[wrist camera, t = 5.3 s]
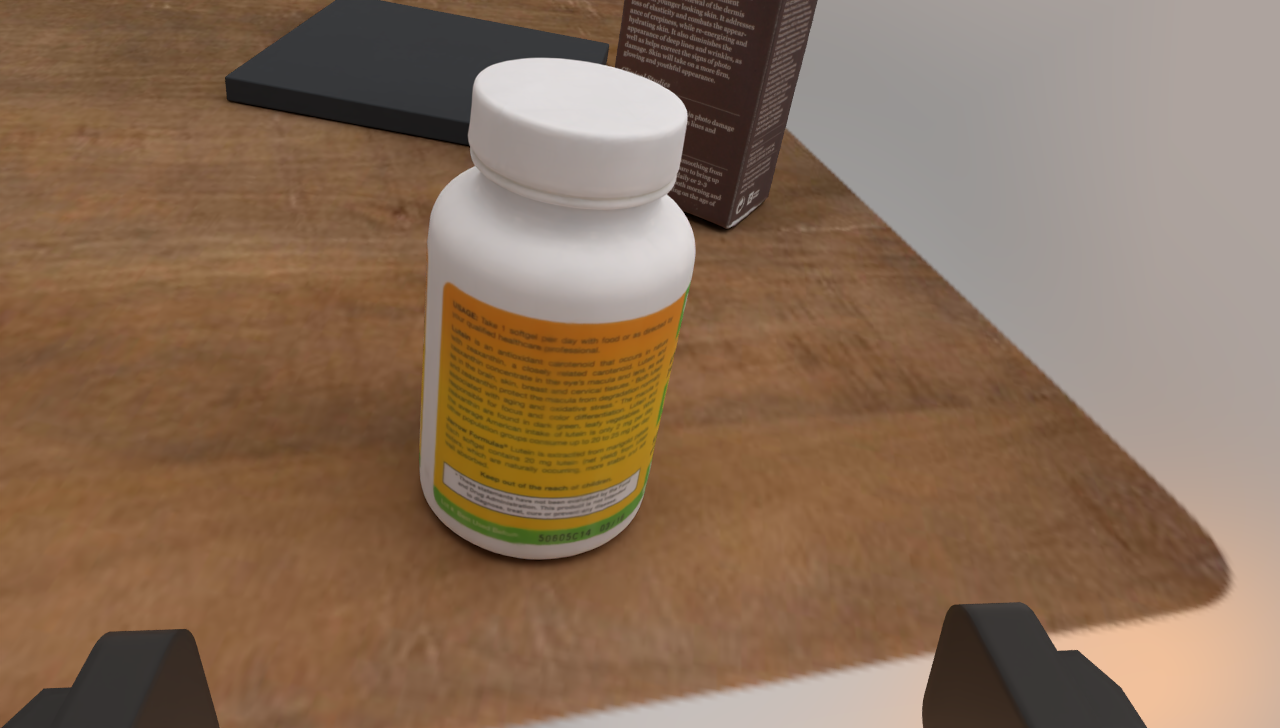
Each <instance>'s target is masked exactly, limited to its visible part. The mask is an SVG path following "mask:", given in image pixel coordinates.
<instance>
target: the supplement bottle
mask: <svg viewBox="0 0 1280 728" xmlns="http://www.w3.org/2000/svg"><path fill="white" fill-rule="evenodd" d="M687 117H688V116H687V110H686V108H685V105H684V104H683V102H682V101H681V100H680V99H679V98H678V97H677V96H676V95H675V94H674V93H672V92H671V91H670V90H668V89H666V88H664V87H663V86H661V85H659V84H658V83H655V82H653V81H651V80H649V79H647V78H644V77H641V76H639V75H636V74H633V73H630V72H627V71H624V70H621V69H618V68H614V67H610V66H605V65H601V64H596V63H590V62H585V61H577V60H569V59H559V58H526V59H517V60H510V61H505V62H501V63H497V64H494V65H491V66H489V67H487V68H486V69H484V70H483V71H481V72H480V73H479V74H478V76H477V77H476V79H475V81H474V85H473V93H472V107H471V117H470V125H469V131H468V141H469V144H470V154H471V158H472V161H473V163H474V165H475V166H474V167H472V168H470V169H468V170H467V171H465V172H463V173H461V174H460V175H458V176H457V177H456V178H454V179H453V180H452V181H451V182H450V183H449V184H448V185H447V186H446V187H445V188H444V189H443V190H442V192H441V193H440V195H439V197H438V198H437V200H436V202H435V204H434V207H433V210H432V212H431V217H430V224H429V233H428V239H427V265H426V296H425V320H424V345H423V372H422V391H421V418H420V446H419V463H420V481H421V486H422V490H423V493H424V496H425V498H426V500H427V502H428V504H429V506H430V507H431V509H432V510H433V512H434V513H435V514H436V515H437V517H438V518H439V519H440V520H441V521H442V522H443V523H444V524H445V525H446V526H447V527H448V528H450V529H451V530H452V531H453V532H455V533H456V534H457V535H459V536H461V537H462V538H464V539H465V540H467V541H469V542H471V543H473V544H475V545H477V546H479V547H481V548H484V549H486V550H489V551H492V552H494V553H498V554H502V555H505V556H511V557H516V558H522V559H555V558H562V557H568V556H573V555H577V554H580V553H583V552H586V551H589V550H592V549H594V548H597V547H599V546H601V545H603V544H605V543H606V542H608V541H610V540H611V539H612V538H614V537H615V536H616V535H618V534H619V533H620V532H621V531H623V530H624V529H625V528H626V527H627V526H628V525H629V523H630V522H631V521H632V519H633V518H634V517H635V515H636V513H637V511H638V509H639V508H640V505H641V502H642V499H643V496H644V492H645V488H646V484H647V480H648V476H649V472H650V468H651V462H652V457H653V452H654V447H655V442H656V438H657V433H658V428H659V424H660V419H661V414H662V410H663V405H664V400H665V395H666V391H667V386H668V382H669V377H670V372H671V368H672V363H673V358H674V354H675V350H676V345H677V341H678V336H679V331H680V327H681V322H682V318H683V313H684V309H685V305H686V301H687V296H688V292H689V287H690V283H691V278H692V273H693V267H694V261H695V239H694V235H693V231H692V228H691V226H690V224H689V222H688V219H687V217H686V216H685V214H684V213H683V211H682V210H681V209H680V207H679V206H678V205H677V204H676V203H675V201H674V200H673V199H671V198H670V197H669V196H668V195H667V193H669V191H670V190H671V189H672V188H673V187H674V184H675V182H676V178H677V173H678V170H679V168H680V162H681V156H682V150H683V144H684V138H685V132H686V126H687Z"/></svg>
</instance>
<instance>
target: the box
mask: <svg viewBox="0 0 1280 728" xmlns="http://www.w3.org/2000/svg"><path fill="white" fill-rule="evenodd" d="M816 4H817V0H624V8H623V16H622V23H621V30H620V35H619V43H618V49H617V56H616V63H615V68H618V69H621V70H624V71H627V72H630V73H633V74H636V75H639V76H641V77H644V78H647V79H649V80H651V81H653V82H655V83H658V84H659V85H661V86H663V87H664V88H666V89H668V90H670V91H671V92H672V93H674V94H675V95H676V96H677V97H678V98H679V99H680V100H681V101H682V102H683V104H684V105H685V108H686V110H687V116H688V117H687V126H686V132H685V138H684V144H683V150H682V156H681V162H680V168H679V170H678V173H677V178H676V182H675V184H674V187H673V188H672V189H671V190H670V191H669V193H667V195H668V196H669V197H670V198H671V199H673V200H674V201H675V203H676V204H677V205H678V206H679V207H680V209H681V210H682V211H685V212H687V213H690V214H692V215H695V216H698V217H700V218H703V219H705V220H708V221H710V222H713V223H715V224H717V225H720V226H722V227H724V228H726V229H728V228H730V227H734V226H736V225H737V224H738V222H740V221H741V220H742V219H744V218H746V217H747V216H748V215H749V213H750V212H752V211H753V210H754V209H755V208H756V207H757V206H759V205H760V204H761V203H762V202H764V200H765V199H766V198H767V197H768V195H769V190H770V187H771V183H772V179H773V175H774V171H775V166H776V162H777V158H778V155H779V151H780V147H781V143H782V139H783V135H784V130H785V128H786V124H787V120H788V115H789V111H790V107H791V103H792V99H793V95H794V91H795V87H796V83H797V80H798V76H799V72H800V69H801V65H802V60H803V56H804V53H805V49H806V45H807V41H808V36H809V32H810V28H811V25H812V21H813V16H814V12H815V8H816Z"/></svg>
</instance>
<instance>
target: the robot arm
mask: <svg viewBox="0 0 1280 728" xmlns="http://www.w3.org/2000/svg"><path fill="white" fill-rule="evenodd" d="M922 718H923V728H1147V727H1146V725H1145V724H1144V722H1143V721H1142V719H1141V718H1140V716H1139V715H1138V713H1137V712H1136V710H1135V708H1134V707H1133V705H1132V704H1131V702H1130V701H1129V699H1128V698H1127V696H1126V695H1125V693H1124V692H1123V690H1122V688H1121V687H1120V686H1118V685H1117V684H1116V683H1115V682H1114V681H1113V680H1112V679H1110V678H1109V677H1108V676H1107V675H1106V674H1105V673H1103V672H1102V671H1101V670H1100V669H1099V668H1098V667H1096V666H1095V665H1094V664H1093V663H1092V662H1091V661H1090V660H1088V659H1087V658H1086V657H1085V656H1084V655H1082V654H1081V653H1080V652H1079V651H1078V650H1068V651H1057V650H1056V648H1055V646H1054V645H1053V643H1052V641H1051V640H1050V638H1049V636H1048V635H1047V633H1046V631H1045V630H1044V628H1043V626H1042V625H1041V623H1040V621H1039V620H1038V618H1037V617H1036V615H1035V614H1034V612H1033V611H1032V610H1031V609H1030V608H1029V607H1028V606H1027V605H1025V604H1024V603H1021V602H1016V603H988V604H959V605H953V606H951V607H950V609H949V610H948V612H947V614H946V617H945V620H944V623H943V627H942V631H941V635H940V638H939V642H938V646H937V649H936V653H935V657H934V661H933V664H932V668H931V672H930V675H929V679H928V683H927V687H926V691H925V694H924V699H923V707H922ZM2 728H219V723H218V720H217V716H216V712H215V709H214V705H213V702H212V698H211V695H210V691H209V688H208V684H207V680H206V677H205V673H204V670H203V666H202V663H201V659H200V655H199V652H198V648H197V645H196V642H195V639H194V637H193V635H192V633H191V632H190V631H189V630H187V629H174V630H146V631H117V632H108V633H106V634H104V635H103V636H102V637H101V638H100V639H99V640H98V641H97V643H96V644H95V646H94V647H93V649H92V651H91V653H90V654H89V656H88V658H87V660H86V662H85V664H84V665H83V667H82V669H81V671H80V673H79V675H78V676H77V678H76V680H75V682H74V684H73V685H72V687H71V688H47V689H43V690H42V691H41V692H40V693H39V694H38V695H36V696H35V697H34V698H33V699H32V700H31V701H30V702H29V703H28V704H27V705H26V706H25V707H23V708H22V709H21V710H20V711H19V712H18V713H17V714H16V715H15V716H14V717H13V718H12V719H10V720H9V721H8V722H7V723H6V724H5V725H4V726H3V727H2Z"/></svg>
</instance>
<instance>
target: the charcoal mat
mask: <svg viewBox="0 0 1280 728" xmlns="http://www.w3.org/2000/svg"><path fill="white" fill-rule="evenodd" d="M608 50H609V44H607V43H602V42H597V41H591V40H586V39H581V38H576V37H570V36H565V35H560V34H554V33H549V32H544V31H539V30H533V29H528V28H523V27H518V26H512V25H507V24H502V23H496V22H491V21H486V20H481V19H475V18H470V17H465V16H460V15H454V14H449V13H444V12H438V11H433V10H428V9H423V8H417V7H412V6H407V5H402V4H396V3H391V2H386V1H380V0H335V1H334V2H333V3H331V4H330V5H328V6H327V7H325V8H324V9H322V10H321V11H320V12H318V13H317V14H315V15H314V16H312V17H311V18H309V19H308V20H307V21H305V22H304V23H302V24H301V25H299V26H298V27H296V28H295V29H294V30H292V31H291V32H289V33H288V34H286V35H285V36H283V37H282V38H281V39H279V40H278V41H276V42H275V43H273V44H272V45H270V46H269V47H268V48H266V49H265V50H263V51H262V52H260V53H259V54H257V55H256V56H255V57H253V58H252V59H250V60H249V61H247V62H246V63H244V64H243V65H242V66H240V67H239V68H237V69H236V70H234V71H233V72H231V73H230V74H229V75H227V76H226V77H225V82H226V93H227V100H229V101H235V102H240V103H245V104H251V105H256V106H261V107H267V108H272V109H278V110H283V111H288V112H294V113H299V114H304V115H310V116H315V117H320V118H326V119H331V120H336V121H342V122H347V123H352V124H358V125H363V126H369V127H374V128H379V129H385V130H390V131H395V132H401V133H406V134H411V135H417V136H422V137H427V138H433V139H438V140H443V141H449V142H454V143H460V144H465V145H470V144H469V141H468V131H469V125H470V117H471V107H472V93H473V85H474V81H475V79H476V77H477V76H478V74H479V73H480V72H481V71H483V70H484V69H486V68H487V67H489V66H491V65H494V64H497V63H501V62H505V61H510V60H517V59H526V58H559V59H569V60H577V61H585V62H590V63H596V64H601V65H606V62H607V57H608Z"/></svg>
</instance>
